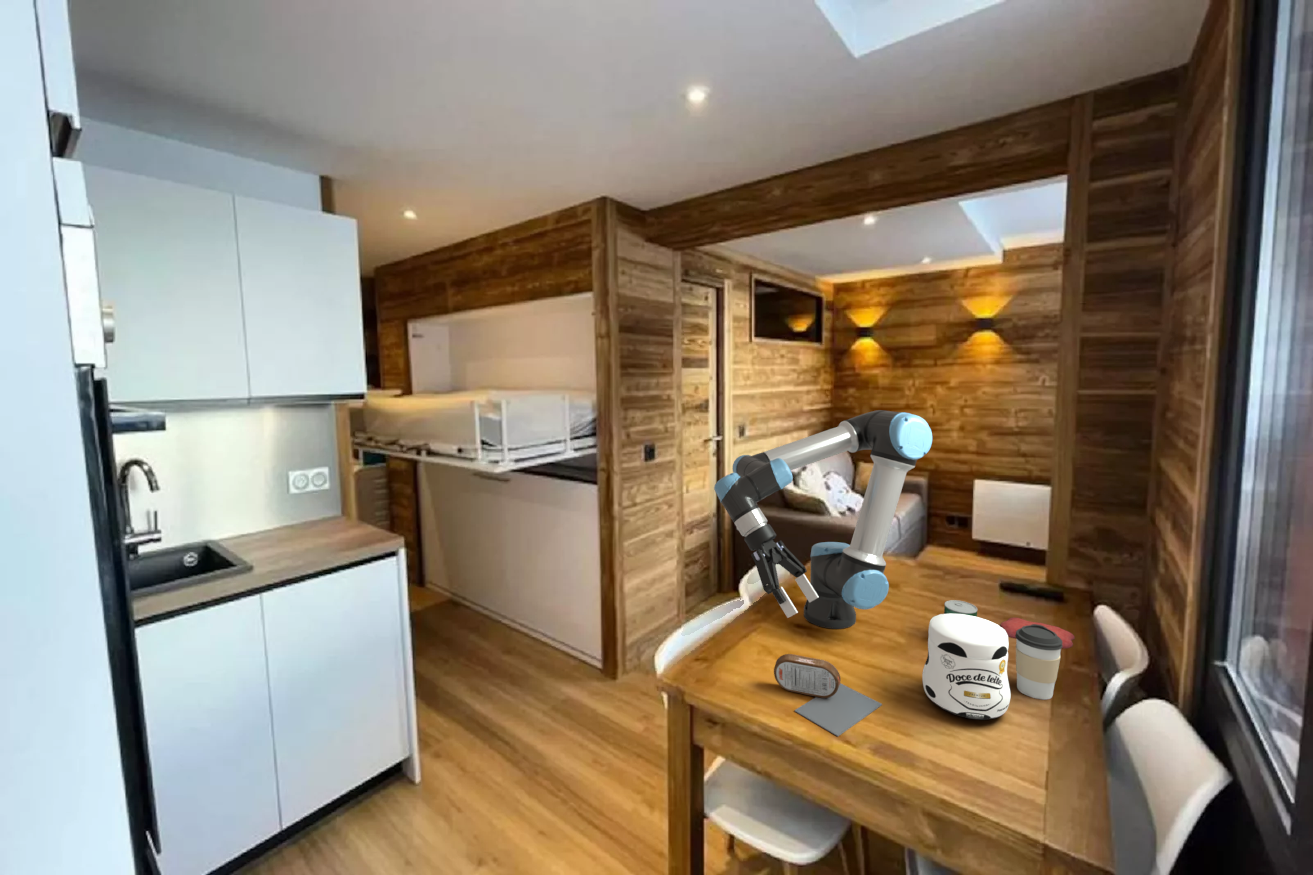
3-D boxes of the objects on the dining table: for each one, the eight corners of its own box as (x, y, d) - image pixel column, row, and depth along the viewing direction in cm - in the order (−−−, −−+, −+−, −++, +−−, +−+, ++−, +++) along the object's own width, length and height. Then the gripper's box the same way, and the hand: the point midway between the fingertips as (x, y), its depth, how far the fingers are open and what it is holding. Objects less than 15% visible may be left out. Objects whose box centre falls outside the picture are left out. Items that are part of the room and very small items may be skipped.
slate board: (794, 711, 124) (794, 710, 124) (839, 683, 135) (839, 682, 135) (837, 736, 116) (837, 735, 116) (881, 705, 126) (882, 703, 126)
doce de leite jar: (972, 736, 115) (976, 653, 113) (904, 693, 131) (907, 619, 129) (1027, 715, 121) (1032, 636, 120) (957, 676, 137) (960, 606, 135)
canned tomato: (979, 653, 148) (982, 613, 147) (947, 650, 150) (949, 611, 148) (969, 638, 156) (971, 601, 154) (938, 636, 157) (940, 599, 156)
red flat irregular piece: (997, 636, 158) (997, 629, 158) (1002, 618, 169) (1003, 611, 169) (1074, 654, 148) (1074, 647, 147) (1074, 634, 159) (1075, 627, 158)
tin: (840, 696, 129) (840, 661, 128) (839, 703, 126) (839, 667, 125) (775, 683, 135) (775, 649, 134) (772, 689, 133) (772, 656, 132)
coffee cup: (1059, 707, 125) (1065, 643, 123) (1011, 694, 129) (1016, 633, 127) (1056, 687, 132) (1061, 627, 130) (1011, 676, 137) (1015, 618, 135)
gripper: (766, 530, 153) (810, 600, 146) (720, 546, 132) (770, 629, 125) (787, 515, 149) (833, 587, 142) (743, 530, 129) (795, 615, 122)
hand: (804, 607), depth 134 cm, fingers open, 13 cm apart
